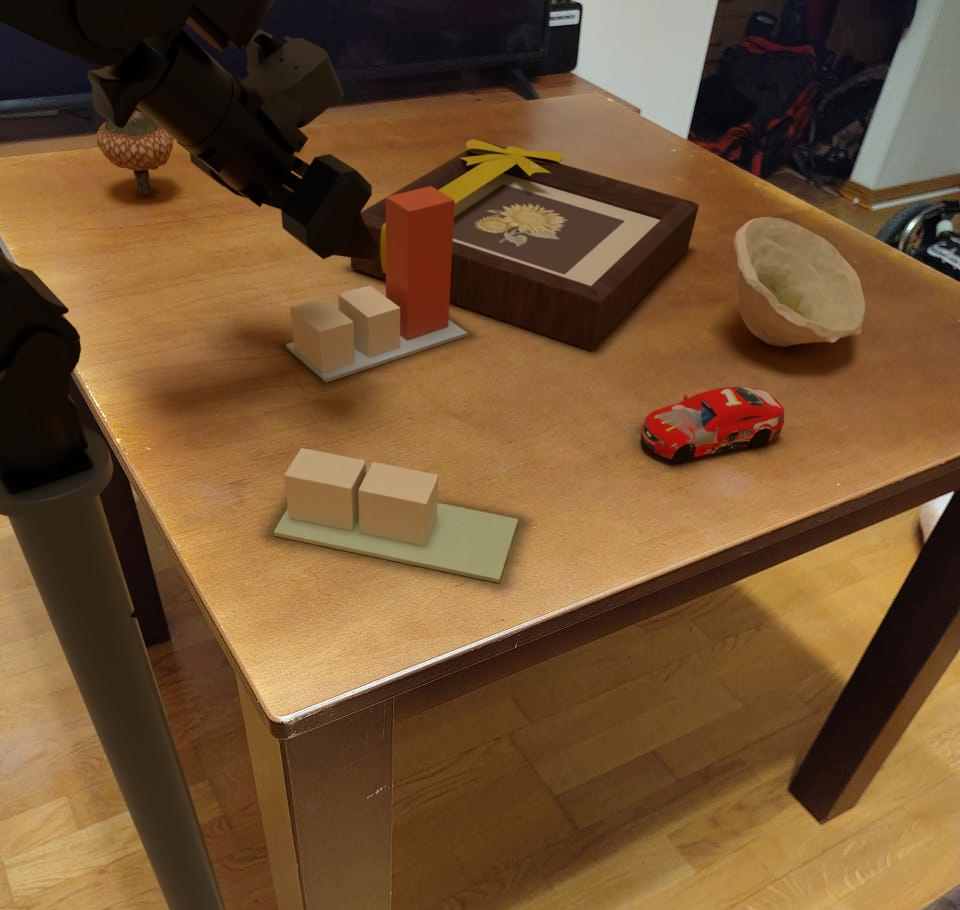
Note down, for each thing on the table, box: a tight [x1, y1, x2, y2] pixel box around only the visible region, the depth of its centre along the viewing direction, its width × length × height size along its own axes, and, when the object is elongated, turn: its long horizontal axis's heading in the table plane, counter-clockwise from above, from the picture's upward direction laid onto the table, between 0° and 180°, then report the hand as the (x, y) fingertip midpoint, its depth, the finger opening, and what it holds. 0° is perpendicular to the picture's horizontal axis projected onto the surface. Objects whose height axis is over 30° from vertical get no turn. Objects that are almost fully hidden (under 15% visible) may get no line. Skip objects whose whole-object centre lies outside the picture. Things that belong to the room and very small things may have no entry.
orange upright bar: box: [385, 186, 455, 340], centre depth 82 cm, size 5×4×12 cm
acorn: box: [96, 110, 174, 195], centre depth 100 cm, size 8×8×10 cm
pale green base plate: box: [273, 447, 519, 584], centre depth 65 cm, size 17×7×4 cm, turn 77°
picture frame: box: [350, 138, 700, 351], centre depth 97 cm, size 28×7×30 cm
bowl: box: [733, 216, 866, 348], centre depth 87 cm, size 15×14×10 cm
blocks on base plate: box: [285, 285, 468, 383], centre depth 83 cm, size 16×7×4 cm, turn 128°
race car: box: [640, 386, 785, 464], centre depth 76 cm, size 13×5×4 cm, turn 111°
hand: (343, 233), depth 75 cm, fingers open, 9 cm apart
